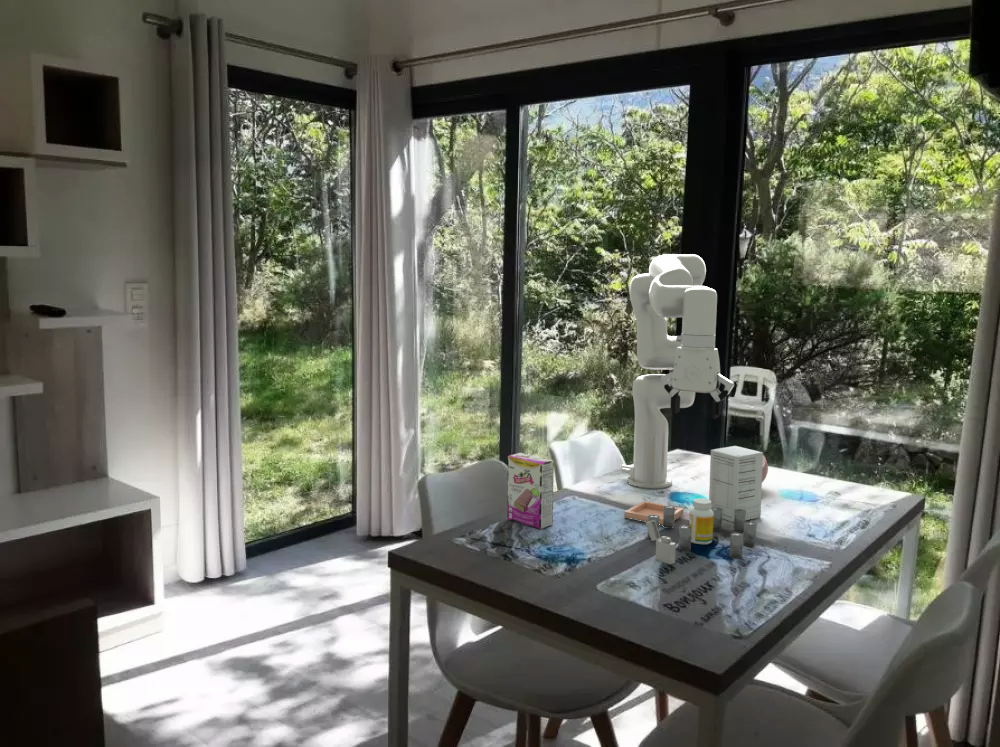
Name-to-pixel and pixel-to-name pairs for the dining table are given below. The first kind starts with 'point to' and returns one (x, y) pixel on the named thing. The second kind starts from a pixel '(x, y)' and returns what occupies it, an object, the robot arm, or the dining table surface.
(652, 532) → the lighter
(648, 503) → the dish
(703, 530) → the supplement bottle
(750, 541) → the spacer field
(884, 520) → the dining table surface
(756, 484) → the supplement box
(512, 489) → the candy bar box
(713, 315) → the robot arm
